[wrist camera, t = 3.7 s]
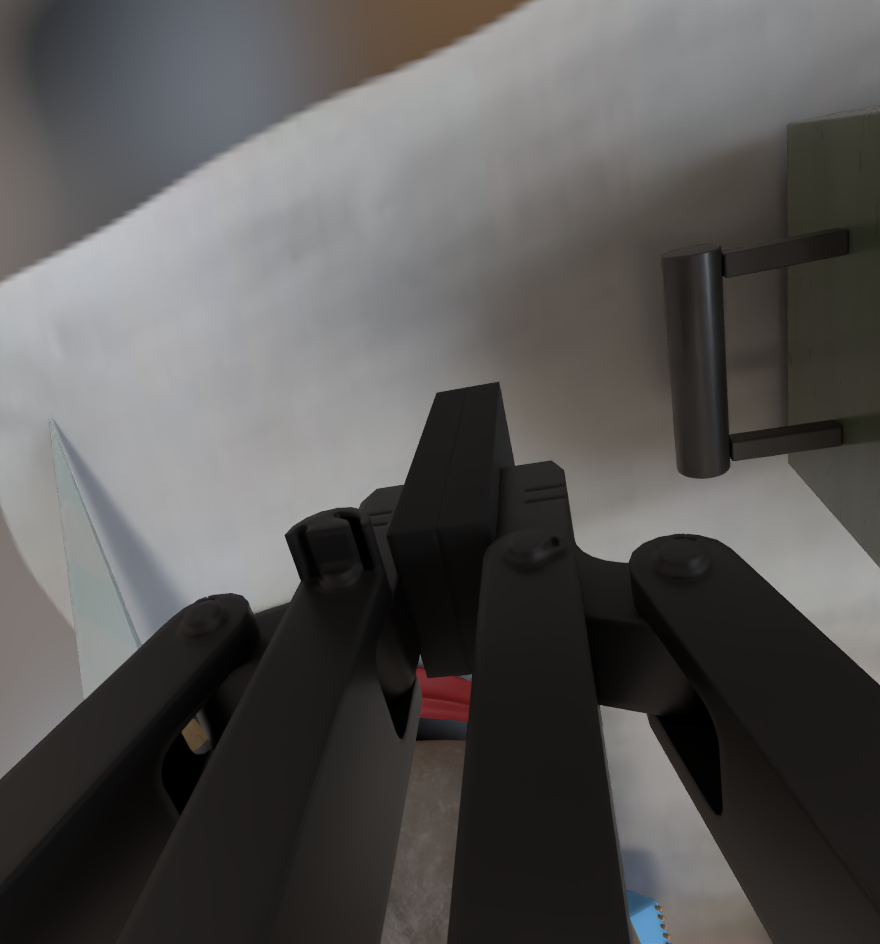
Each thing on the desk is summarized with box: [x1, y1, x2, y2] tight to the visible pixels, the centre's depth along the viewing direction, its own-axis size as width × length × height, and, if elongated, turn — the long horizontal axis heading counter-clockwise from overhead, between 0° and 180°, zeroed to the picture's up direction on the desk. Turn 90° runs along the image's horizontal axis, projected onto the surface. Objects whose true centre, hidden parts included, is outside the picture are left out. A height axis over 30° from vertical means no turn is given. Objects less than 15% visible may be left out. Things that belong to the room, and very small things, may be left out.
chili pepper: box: [416, 668, 471, 721], centre depth 28 cm, size 12×5×2 cm
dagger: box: [48, 416, 142, 700], centre depth 26 cm, size 12×3×30 cm
